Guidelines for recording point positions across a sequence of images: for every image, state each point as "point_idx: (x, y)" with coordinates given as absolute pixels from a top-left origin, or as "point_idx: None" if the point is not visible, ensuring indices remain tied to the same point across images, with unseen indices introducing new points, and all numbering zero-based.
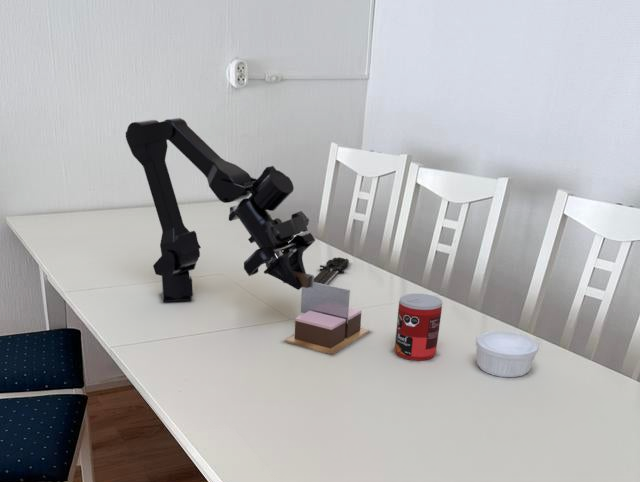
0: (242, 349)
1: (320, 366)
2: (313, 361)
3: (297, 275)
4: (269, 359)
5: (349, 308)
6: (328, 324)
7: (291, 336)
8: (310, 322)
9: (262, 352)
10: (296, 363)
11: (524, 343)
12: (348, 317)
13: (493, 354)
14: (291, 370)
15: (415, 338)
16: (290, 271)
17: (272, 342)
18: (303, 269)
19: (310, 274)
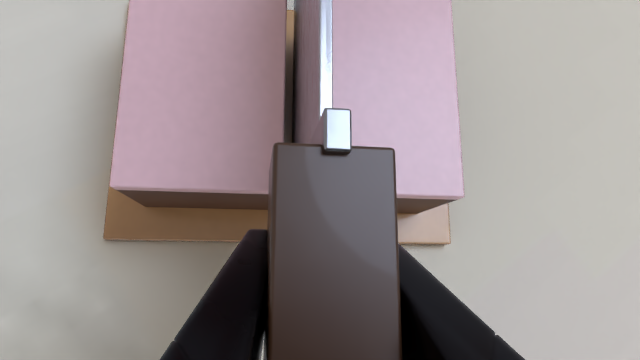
0: (613, 344)
1: (535, 23)
2: (519, 60)
3: (397, 293)
4: (608, 197)
5: (144, 19)
6: (431, 14)
7: (402, 240)
8: (456, 103)
9: (581, 257)
10: (570, 99)
11: None
12: None
13: None
14: (621, 86)
15: None
16: (510, 356)
17: (480, 286)
18: (214, 327)
19: (277, 182)
